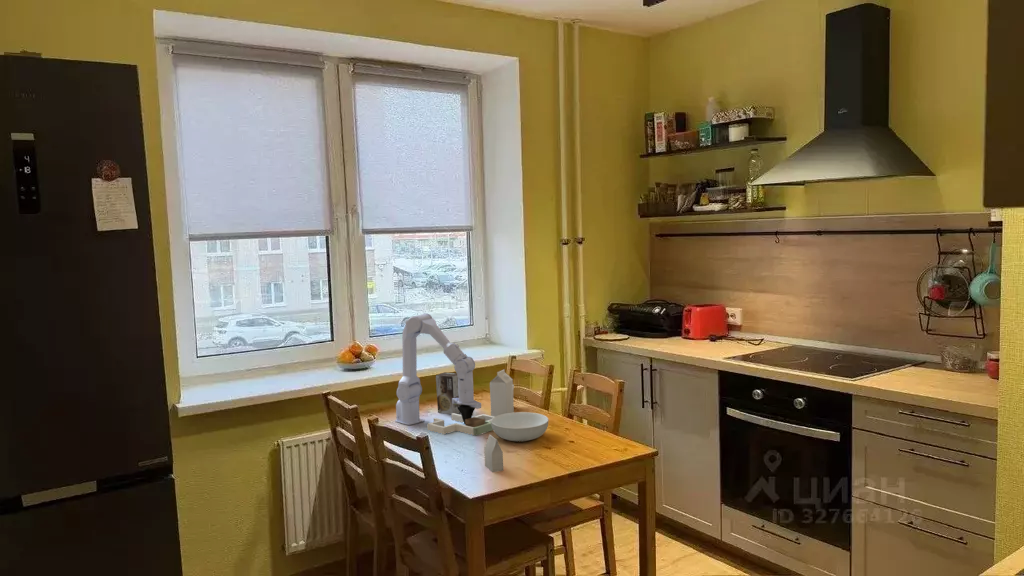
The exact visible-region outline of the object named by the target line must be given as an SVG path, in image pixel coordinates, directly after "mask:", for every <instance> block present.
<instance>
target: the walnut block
mask: <svg viewBox="0 0 1024 576" xmlns="http://www.w3.org/2000/svg"><path fill="white" fill-rule="evenodd" d="M484 424H485V419H481V418H477V417H475V416H472V418H468V419H465V425H466V426H470V427H477V426H480V425H484Z"/></svg>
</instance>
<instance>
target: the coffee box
mask: <svg viewBox="0 0 1024 576" xmlns="http://www.w3.org/2000/svg"><path fill="white" fill-rule="evenodd" d="M435 382H436V383H435V385H436V401H437V413H439V414H447V415H451V414H452V413H455V414H460V413H459V412H460V411H459V410H458V407H459V406H460V405H459V404H456V403H455V404H453V403H452V398H459V393H458V377H457V373H456V372H441V373H438V374H436V375H435Z"/></svg>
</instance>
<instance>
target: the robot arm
mask: <svg viewBox="0 0 1024 576" xmlns="http://www.w3.org/2000/svg"><path fill="white" fill-rule="evenodd" d="M420 334H425V335H430V336H431V337H432V338H433V339H434V340H435V342H437V344H439V346H441V348H443V354H444V355H445V356H446V357H447V358H448V360H449V361H450V362H451V363H452V365H453V366H454V367H453V368H454V371H455V373H457V377H458V393H459V398H452V403H453V404H455V403H456V404H459V405H460V406H459V407H458V410H459V411H460V413H459V414H460V415H461V416H462V418H463V422H464V423H463V425H465V419H468V418H471V417H473V414H474V411H475V409H477V410H478V409H481V408H482V402H479V401H477V400H475V399H474V374H473V371H474V370H475V368H476V363H475V360H474V358H473V357H471V356H468V355H467V354H466V353H464V352H463V350H461V348H460V345H459V344H457V343H455V342H451V341H450V340H449V338H448V337H447V336H446V335H445V334H444V332H443V331H442V330H441V329H440V328H439V326H438V324H437V323H436V319H434V318H433V317H432V315H431V314H429V313H426V312H425V313H422V314H417V315H412V316H410V317H409V318H407V319H406V320H405V325H404V328H403V330H402V377H401V378H400V379H399V381H398V384H397V385H398V386H397V388H396V397H397V398H398V400H397V402H396V403H395V411H396V412H395V415H396V416H395V417H396V419H395V420H394V422H396V423H399V424H403V425H407V426H411V425H414V424H415V425H416V424H418V423H423V422H425V419H422V418H421V415H420V395H422V392H423V387H422V385H421V378H420V377H419V376H418V375H417V373H418V371H417V368H418V367H417V365H418V364H417V358H418V357H417V356H418V355H417V338H418V337H419V336H420Z"/></svg>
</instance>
